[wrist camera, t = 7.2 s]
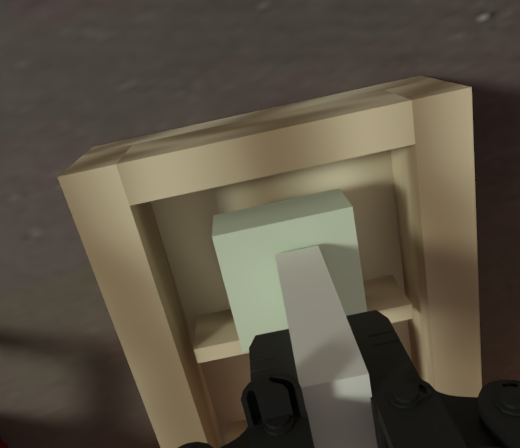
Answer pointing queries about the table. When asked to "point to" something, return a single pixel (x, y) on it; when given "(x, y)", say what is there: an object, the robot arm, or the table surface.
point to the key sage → (279, 241)
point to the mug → (3, 444)
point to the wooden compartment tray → (274, 190)
